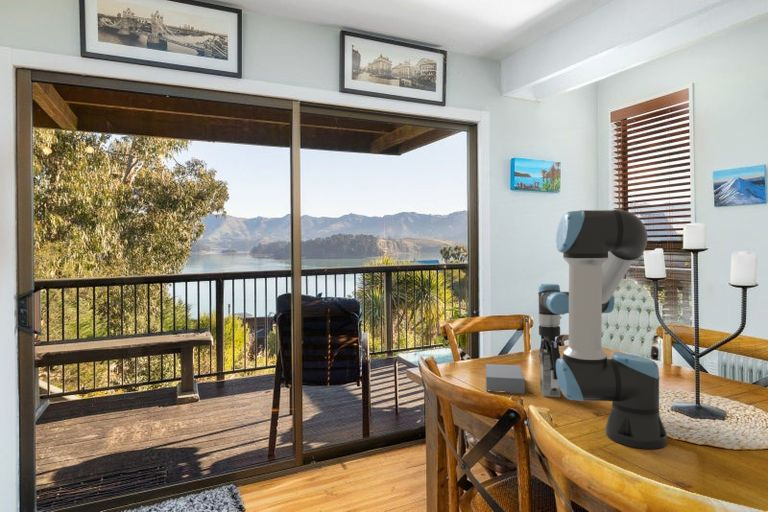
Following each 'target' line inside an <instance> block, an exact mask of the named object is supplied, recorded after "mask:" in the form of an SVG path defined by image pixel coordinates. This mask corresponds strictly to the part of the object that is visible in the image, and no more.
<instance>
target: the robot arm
mask: <svg viewBox="0 0 768 512" xmlns="http://www.w3.org/2000/svg"><path fill="white" fill-rule="evenodd" d="M555 237H556V238H555V244H556V249H557V251H558V252H560V253H563V259H564V260H565V262H567V264H568V291H561V287H560V284H558V283H541V284H539V286H538V292H537V294H538V324H539V325H538V334H539V336H540V344H539V345H540V347H539V349H540V348H543V349H547V352H548V353H550V362H551V367H552V368H550V370H551V388H559V386H560V392H561V393H562V395H563V396H564V398H566V399H567V400H570V401H579V402H612V405H611V406H612V408H611V410H610V413H609V416H608V417H607V421H606V424H605V434H606V436H607V437H608V438H609V440H612V441H613V442H616V443H619V444H621V445H623V446H626V447H631V448H637V449H644V450H655V449H661V448H664V447H666V446H667V442H668V436H667V432H666V430H665V427H664V424H663V421H662V419H661V415H660V378H661V377H660V371H659V365H658V363H657V362H655V361H654V360H653V359H650V358H647V357H644V356H642V355H641V356H640V355H635V354H632V353H623V352H614V353H612V355H611V356H610V359H609V358H608V354H607V353H606V352H605V351H604V350H603V349H602V329H603V327H602V323H603V321H602V318H603V317H602V314H608V313H609V314H610V313H612V312H613V311H614V309H615V305H616V304H615V297H614V294H615V292H616V290H617V289H618V287H619V285H620V284H621V282H622V280H623V279H624V277H625V275H626V274H627V272H628V271H629V269H630V267H631V265H632V264H633V262H634V261H636V260H638V259H640V258H641V257H642V255H643V253H644V251H645V250H646V248H647V246H648V245H647V244H648V231H647V228H646V226H645V224H644V223H643V221H642V219H640V218H639V217H638V216H637V215H635V214H634V213H632V212H631V211H628V210H625V209H624V210H623V209H613V210H612V209H606V210H605V209H604V210H603V209H601V210H597V209H596V210H595V209H593V210H590V209H589V210H587V209H586V210H582V209H580V210H574V211H567V212H566V213H564V214H563V215H562V216H561V217H560V221H559V222H558V226H557V231H556V236H555ZM566 314H568V346H567V347H566V348H565V349H563V351H562V357H561V353H560V346H559V344H560V343H559V341H557V340H556V338H557V337H560V336H561V327H560V325H561V319H562V316H563V315H566ZM561 315H562V316H561ZM559 353H560V354H559ZM538 356H539V358H540V352H539V354H538Z"/></svg>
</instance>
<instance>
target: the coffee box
mask: <svg viewBox="0 0 768 512" xmlns="http://www.w3.org/2000/svg"><path fill="white" fill-rule="evenodd" d="M539 353H540V357H539V390H540V392H541V394H542V396H543V397H546V398H547V397H551V398H561V389H560V386H559V388H551V370H550V368H552V367H551V362H550V353H548V352H547V349H543V348H540V347H539ZM559 354H560V355H561V353H560V352H559Z"/></svg>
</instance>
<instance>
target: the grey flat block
mask: <svg viewBox="0 0 768 512" xmlns="http://www.w3.org/2000/svg"><path fill="white" fill-rule="evenodd" d="M525 381H526V379H525V376H524V374H523V370H522V366H521V365H520V364H518V365H516V364H493V363H492V364H491V363H485V389H486V391H488V390H490V391H505V392H510V393H509V394H520V395H521V394H523V395H525V394H526V393H525V392H526V386H525V385H526V382H525Z"/></svg>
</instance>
